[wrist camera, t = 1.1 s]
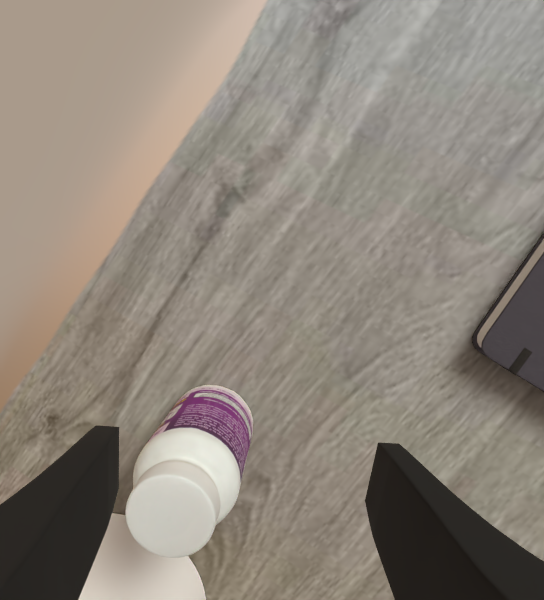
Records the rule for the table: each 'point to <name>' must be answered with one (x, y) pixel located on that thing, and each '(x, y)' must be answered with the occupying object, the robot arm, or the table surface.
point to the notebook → (518, 322)
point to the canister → (138, 571)
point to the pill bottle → (190, 472)
